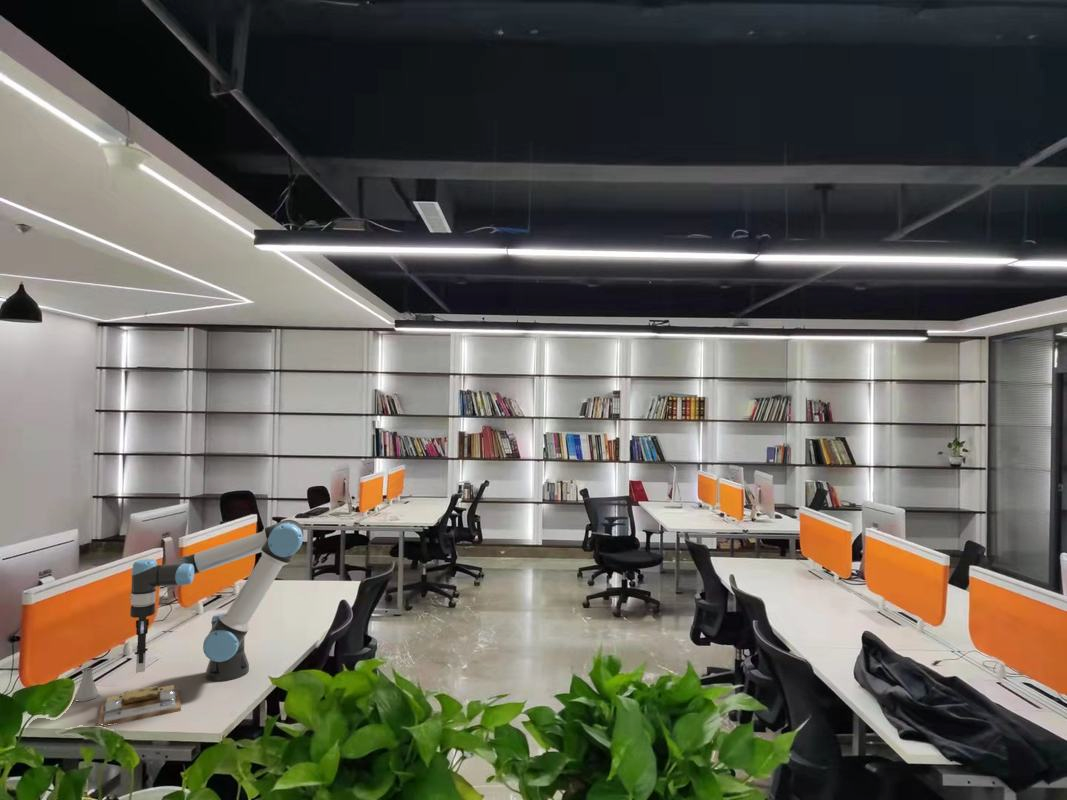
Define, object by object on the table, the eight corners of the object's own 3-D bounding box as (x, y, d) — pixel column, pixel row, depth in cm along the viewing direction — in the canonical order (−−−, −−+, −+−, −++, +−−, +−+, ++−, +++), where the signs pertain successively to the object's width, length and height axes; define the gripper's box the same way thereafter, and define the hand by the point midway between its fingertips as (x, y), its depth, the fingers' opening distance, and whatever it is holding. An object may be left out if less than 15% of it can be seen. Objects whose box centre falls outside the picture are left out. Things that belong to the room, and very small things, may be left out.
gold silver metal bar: (173, 688, 230) (174, 677, 230) (174, 696, 223) (174, 684, 223) (107, 700, 219) (107, 689, 220) (105, 709, 212) (106, 697, 212)
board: (178, 690, 231) (178, 687, 231) (180, 710, 214) (180, 707, 214) (102, 705, 219) (102, 701, 219) (98, 728, 202) (98, 724, 202)
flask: (83, 703, 220) (83, 674, 221) (69, 700, 223) (70, 671, 224) (103, 695, 227) (104, 667, 228) (90, 692, 230) (90, 664, 230)
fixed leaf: (176, 698, 221) (176, 686, 221) (177, 707, 214) (177, 695, 214) (103, 712, 210) (104, 700, 210) (102, 722, 203) (102, 709, 203)
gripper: (131, 601, 231) (128, 667, 230) (130, 609, 220) (127, 679, 219) (155, 598, 235) (152, 663, 234) (155, 606, 224) (152, 675, 223)
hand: (140, 671), depth 226 cm, fingers closed
